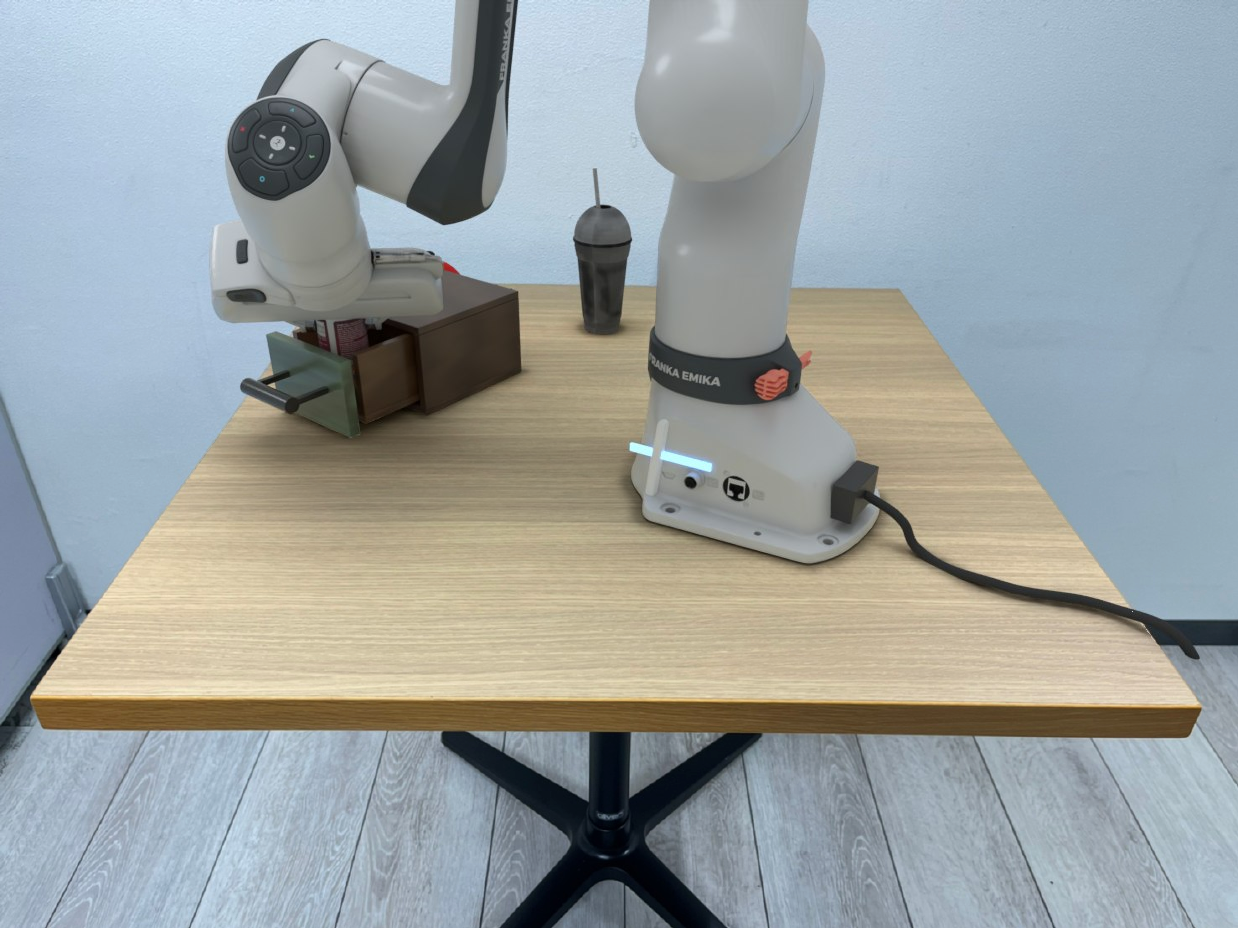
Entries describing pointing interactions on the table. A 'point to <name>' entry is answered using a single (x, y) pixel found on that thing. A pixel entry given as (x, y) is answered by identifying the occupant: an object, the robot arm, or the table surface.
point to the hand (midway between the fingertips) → (342, 324)
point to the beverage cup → (602, 264)
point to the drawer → (339, 379)
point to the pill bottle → (343, 336)
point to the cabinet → (464, 341)
